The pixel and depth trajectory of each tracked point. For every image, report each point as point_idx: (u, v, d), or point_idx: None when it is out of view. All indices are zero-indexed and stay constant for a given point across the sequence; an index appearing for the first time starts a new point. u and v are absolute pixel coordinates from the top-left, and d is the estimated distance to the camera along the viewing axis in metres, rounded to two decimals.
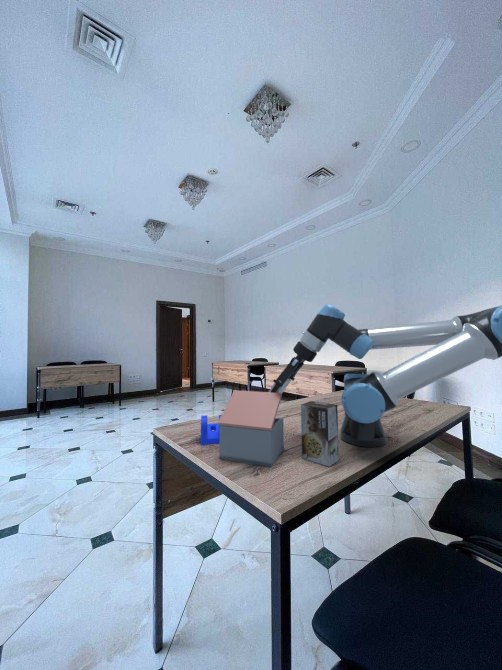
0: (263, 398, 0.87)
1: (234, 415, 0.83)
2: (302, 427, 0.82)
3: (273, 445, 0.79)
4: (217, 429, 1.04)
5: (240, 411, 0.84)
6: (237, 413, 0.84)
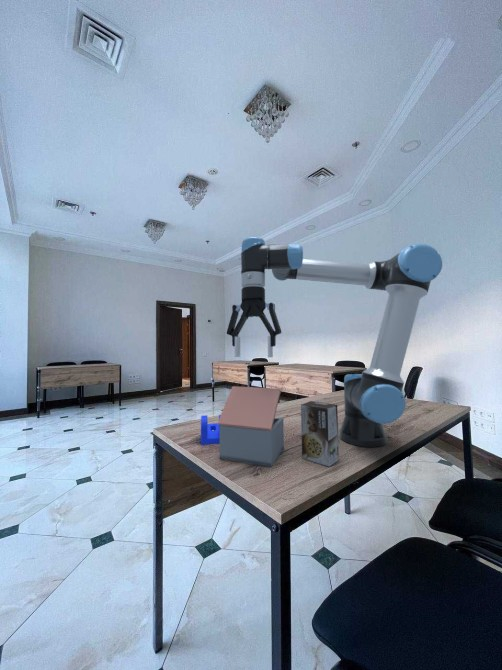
0: (262, 395, 0.86)
1: (233, 414, 0.83)
2: (302, 427, 0.82)
3: (273, 445, 0.79)
4: (217, 429, 1.04)
5: (239, 409, 0.84)
6: (237, 412, 0.83)
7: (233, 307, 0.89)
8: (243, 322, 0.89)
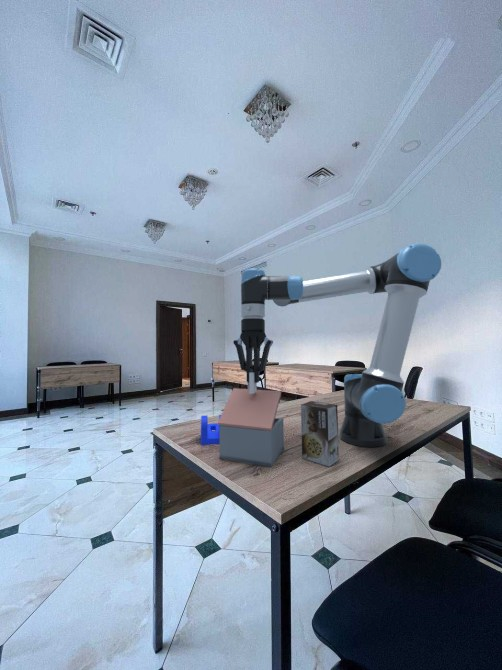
0: (263, 396, 0.87)
1: (234, 415, 0.83)
2: (302, 427, 0.82)
3: (273, 445, 0.79)
4: (217, 429, 1.04)
5: (240, 410, 0.84)
6: (237, 413, 0.83)
7: (235, 343, 0.89)
8: (250, 354, 0.88)
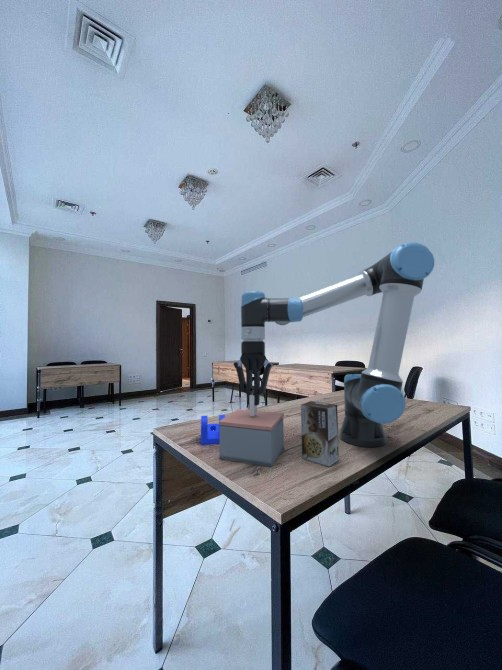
0: (265, 414, 0.89)
1: (235, 419, 0.84)
2: (302, 427, 0.82)
3: (273, 445, 0.79)
4: (217, 429, 1.04)
5: (242, 418, 0.86)
6: (239, 419, 0.85)
7: (235, 365, 0.89)
8: (251, 376, 0.88)
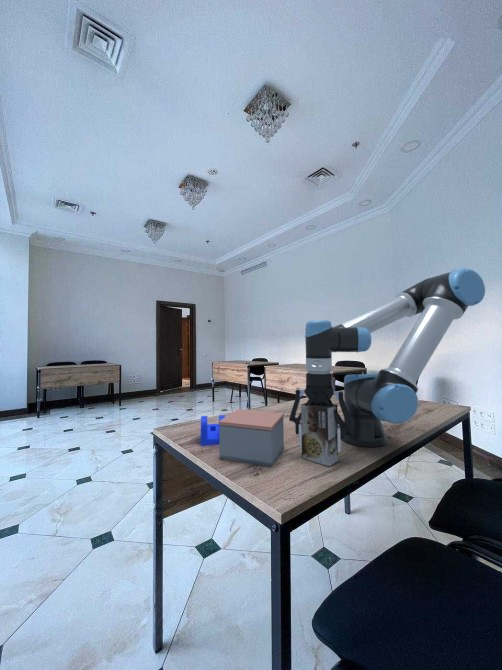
0: (265, 414, 0.89)
1: (235, 419, 0.84)
2: (302, 427, 0.82)
3: (273, 445, 0.79)
4: (217, 430, 1.04)
5: (242, 418, 0.86)
6: (239, 419, 0.85)
7: (296, 392, 0.83)
8: None
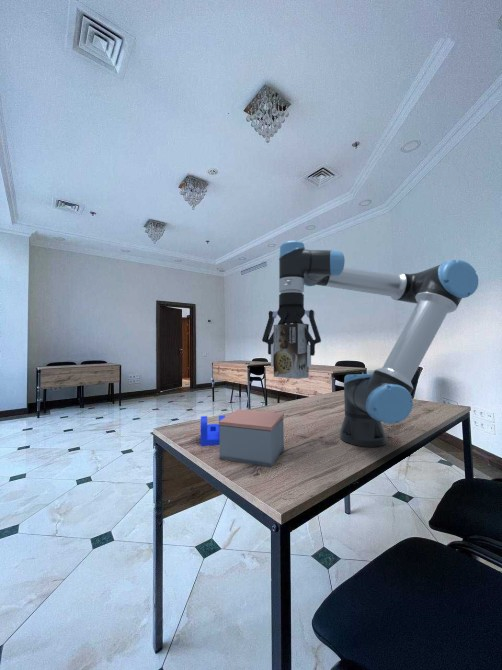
0: (265, 414, 0.89)
1: (235, 419, 0.84)
2: (274, 346, 0.84)
3: (273, 445, 0.79)
4: (217, 430, 1.03)
5: (242, 418, 0.86)
6: (239, 419, 0.85)
7: (269, 313, 0.85)
8: None
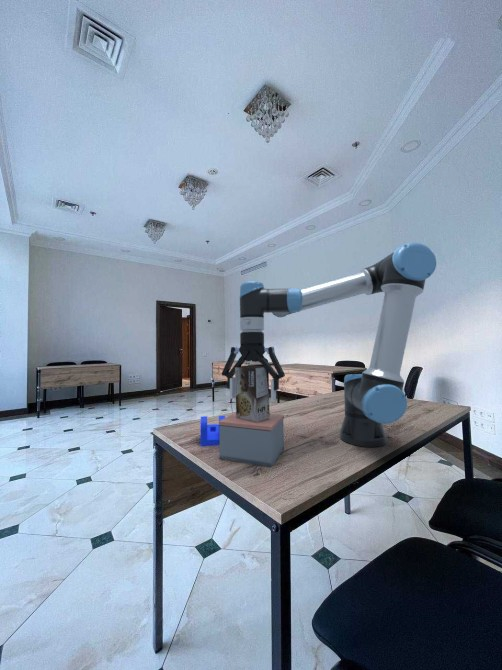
0: None
1: (236, 420, 0.84)
2: (236, 388, 0.87)
3: (273, 445, 0.79)
4: (217, 430, 1.03)
5: None
6: (239, 419, 0.85)
7: (232, 349, 0.88)
8: (240, 365, 0.88)
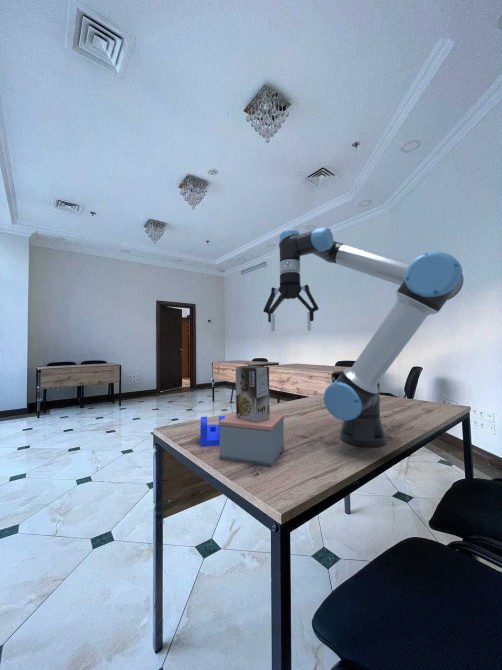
0: None
1: (236, 420, 0.84)
2: (236, 388, 0.87)
3: (273, 445, 0.79)
4: (217, 430, 1.03)
5: None
6: (239, 419, 0.85)
7: (272, 289, 1.04)
8: (279, 303, 1.04)
